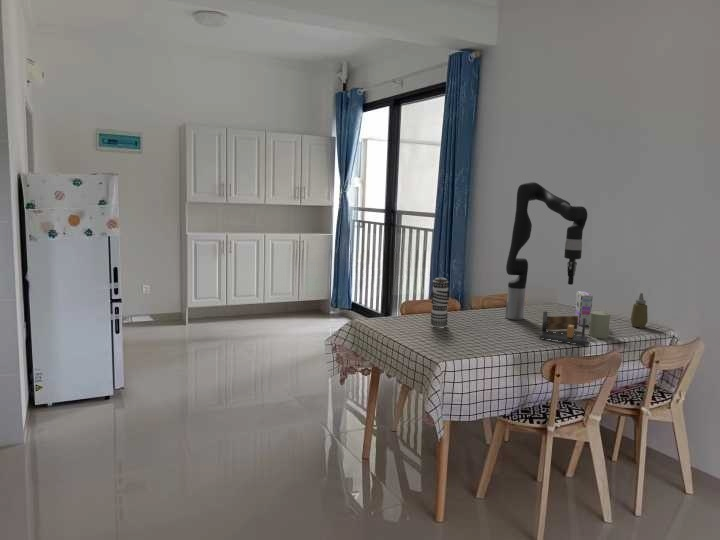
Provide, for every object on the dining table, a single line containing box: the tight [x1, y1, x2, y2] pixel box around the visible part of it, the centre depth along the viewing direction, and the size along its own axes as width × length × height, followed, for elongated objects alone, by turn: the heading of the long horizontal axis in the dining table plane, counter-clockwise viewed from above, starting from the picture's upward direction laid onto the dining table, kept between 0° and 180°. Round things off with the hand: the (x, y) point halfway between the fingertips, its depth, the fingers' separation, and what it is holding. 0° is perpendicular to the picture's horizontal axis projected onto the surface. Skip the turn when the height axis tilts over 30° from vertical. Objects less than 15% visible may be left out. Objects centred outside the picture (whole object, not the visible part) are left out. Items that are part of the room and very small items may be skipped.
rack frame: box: [541, 310, 586, 337], centre depth 278 cm, size 20×2×10 cm, turn 63°
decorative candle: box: [430, 277, 450, 328], centre depth 286 cm, size 9×9×25 cm
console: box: [539, 330, 588, 347], centre depth 266 cm, size 20×9×2 cm, turn 63°
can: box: [588, 310, 611, 339], centre depth 275 cm, size 9×9×12 cm
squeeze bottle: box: [630, 292, 648, 328], centre depth 294 cm, size 8×8×18 cm
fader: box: [566, 324, 575, 338], centre depth 264 cm, size 2×5×5 cm, turn 153°
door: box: [546, 315, 578, 331], centre depth 283 cm, size 16×2×7 cm, turn 99°
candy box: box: [574, 290, 593, 327], centre depth 300 cm, size 14×6×16 cm, turn 168°
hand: (570, 284), depth 270 cm, fingers closed
